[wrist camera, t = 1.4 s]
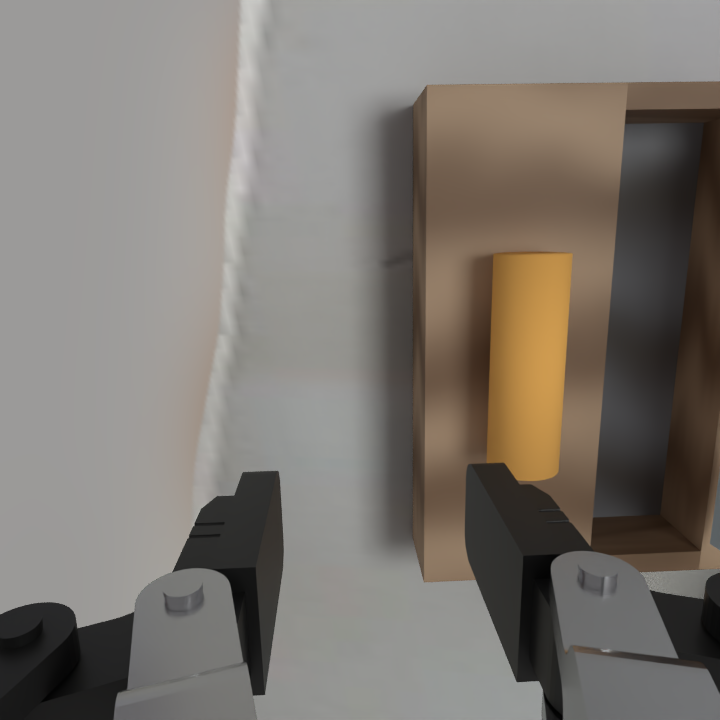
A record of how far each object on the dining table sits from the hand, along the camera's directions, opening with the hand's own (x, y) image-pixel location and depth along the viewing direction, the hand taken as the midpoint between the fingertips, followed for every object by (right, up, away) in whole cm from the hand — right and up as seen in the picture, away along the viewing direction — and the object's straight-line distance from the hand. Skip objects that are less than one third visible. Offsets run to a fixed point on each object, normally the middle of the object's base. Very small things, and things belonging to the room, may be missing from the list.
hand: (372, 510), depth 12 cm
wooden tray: (+11, +4, +17) cm, 21 cm away
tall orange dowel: (+6, +3, +13) cm, 15 cm away
